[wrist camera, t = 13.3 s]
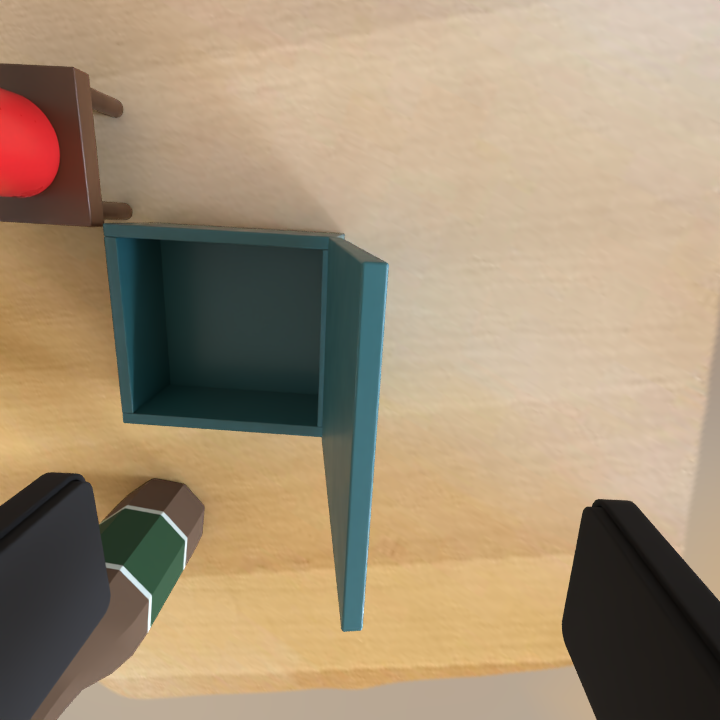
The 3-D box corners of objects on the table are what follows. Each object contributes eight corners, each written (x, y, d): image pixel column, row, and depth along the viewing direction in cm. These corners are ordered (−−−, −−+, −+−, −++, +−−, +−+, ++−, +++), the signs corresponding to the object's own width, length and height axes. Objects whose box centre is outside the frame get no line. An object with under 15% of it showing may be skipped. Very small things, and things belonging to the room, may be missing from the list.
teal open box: (166, 389, 39) (123, 423, 33) (153, 222, 35) (102, 223, 29) (337, 401, 39) (328, 438, 32) (344, 233, 35) (335, 236, 28)
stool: (23, 218, 36) (-46, 218, 30) (3, 87, 33) (-76, 59, 27) (138, 225, 35) (91, 226, 30) (127, 93, 33) (73, 66, 27)
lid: (341, 633, 17) (362, 631, 17) (362, 261, 13) (389, 262, 13) (321, 440, 32) (333, 440, 32) (328, 237, 28) (341, 237, 28)
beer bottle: (113, 521, 43) (-190, 860, 20) (147, 460, 41) (-148, 762, 18) (186, 560, 44) (-25, 927, 21) (223, 502, 42) (33, 841, 19)
